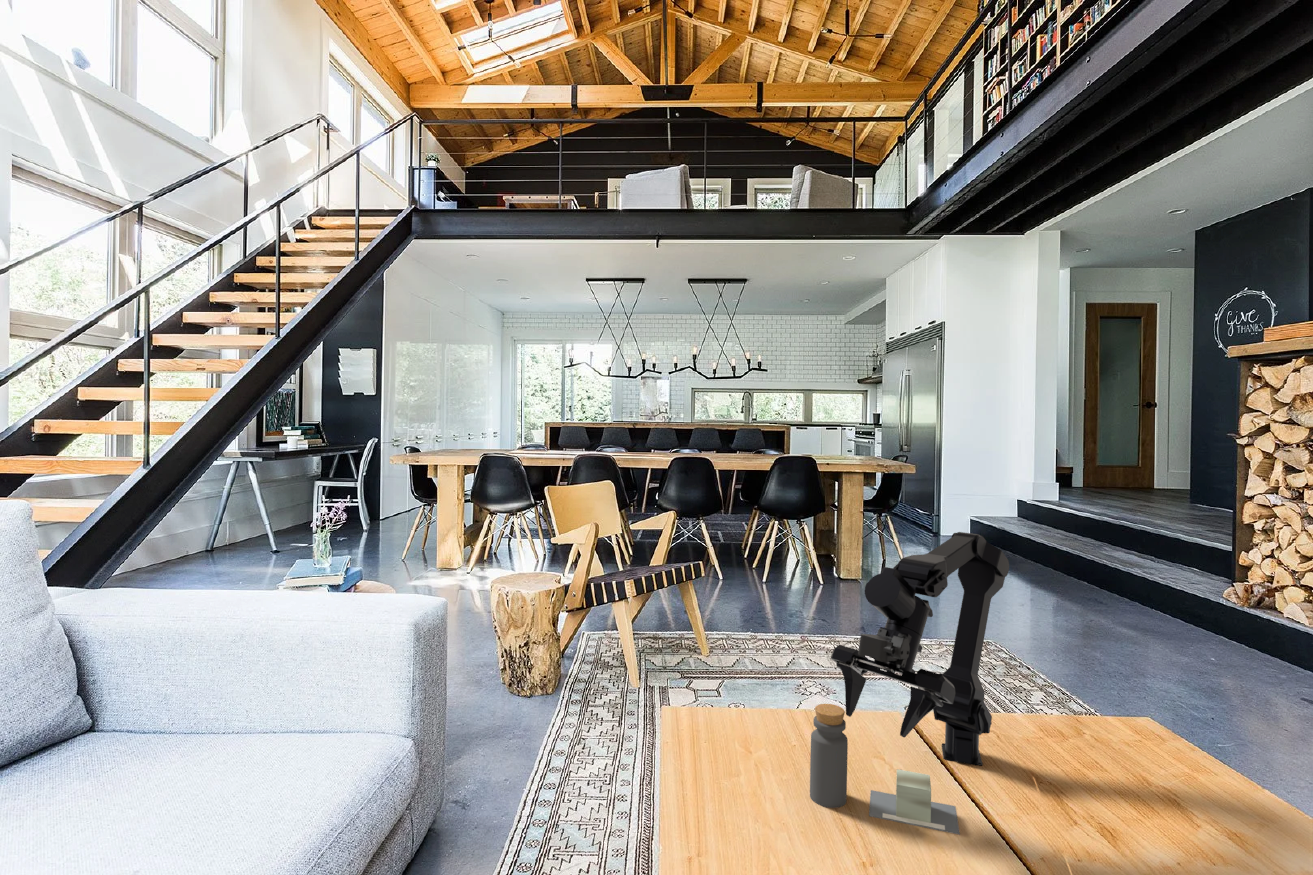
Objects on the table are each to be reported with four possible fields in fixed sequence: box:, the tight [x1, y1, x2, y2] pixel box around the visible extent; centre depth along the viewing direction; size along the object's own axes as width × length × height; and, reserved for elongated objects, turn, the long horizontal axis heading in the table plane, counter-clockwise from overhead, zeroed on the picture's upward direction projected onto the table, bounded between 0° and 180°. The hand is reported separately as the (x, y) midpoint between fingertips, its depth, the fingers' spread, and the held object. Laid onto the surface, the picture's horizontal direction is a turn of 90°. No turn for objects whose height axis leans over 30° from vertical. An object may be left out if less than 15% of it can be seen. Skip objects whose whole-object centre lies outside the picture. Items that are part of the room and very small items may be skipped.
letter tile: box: [868, 789, 961, 836], centre depth 106 cm, size 8×13×1 cm, turn 70°
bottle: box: [809, 703, 849, 809], centre depth 109 cm, size 6×6×15 cm
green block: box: [895, 768, 932, 823], centre depth 106 cm, size 5×5×5 cm
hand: (874, 725), depth 103 cm, fingers open, 9 cm apart
